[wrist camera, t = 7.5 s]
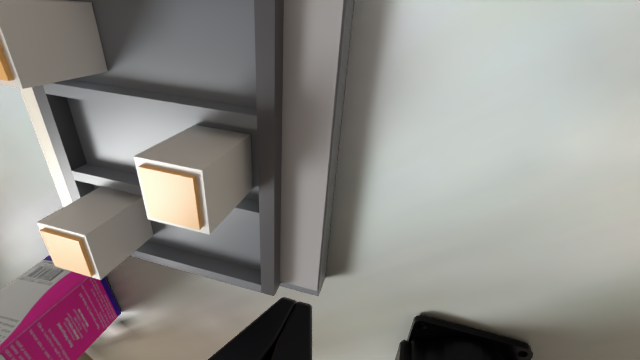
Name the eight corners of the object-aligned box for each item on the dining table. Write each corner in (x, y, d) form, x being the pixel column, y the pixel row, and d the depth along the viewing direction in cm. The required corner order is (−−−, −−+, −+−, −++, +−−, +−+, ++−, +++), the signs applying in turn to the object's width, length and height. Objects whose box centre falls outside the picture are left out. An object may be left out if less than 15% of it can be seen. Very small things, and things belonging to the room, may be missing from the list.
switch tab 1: (91, 2, 15) (-16, 0, 11) (107, 71, 16) (17, 89, 12) (38, -3, 15) (-80, -6, 12) (59, 64, 17) (-41, 80, 13)
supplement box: (74, 302, 31) (-87, 440, 21) (48, 253, 28) (-150, 384, 18) (124, 315, 29) (-24, 468, 20) (102, 264, 27) (-83, 412, 17)
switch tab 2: (144, 195, 19) (81, 237, 16) (153, 235, 21) (97, 282, 17) (102, 185, 20) (32, 224, 16) (114, 225, 21) (52, 268, 18)
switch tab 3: (250, 134, 15) (199, 172, 12) (252, 188, 17) (206, 237, 13) (194, 124, 16) (129, 158, 13) (201, 178, 18) (144, 221, 14)
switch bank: (356, -18, 13) (342, -23, 11) (324, 278, 21) (313, 309, 18) (5, -41, 16) (-57, -49, 14) (90, 218, 24) (58, 238, 22)
